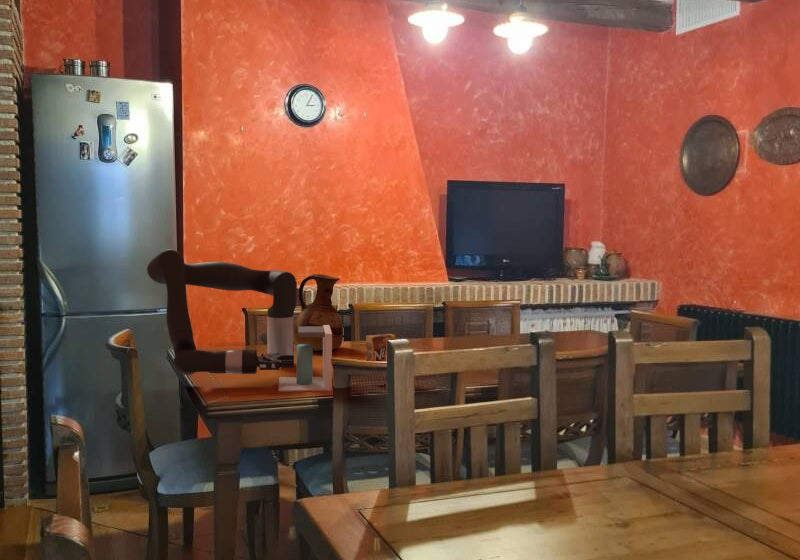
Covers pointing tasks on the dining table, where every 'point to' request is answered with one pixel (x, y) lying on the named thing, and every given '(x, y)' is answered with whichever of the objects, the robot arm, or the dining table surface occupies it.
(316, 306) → the ceramic pitcher
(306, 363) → the post
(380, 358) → the candy box
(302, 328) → the stand
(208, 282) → the robot arm
